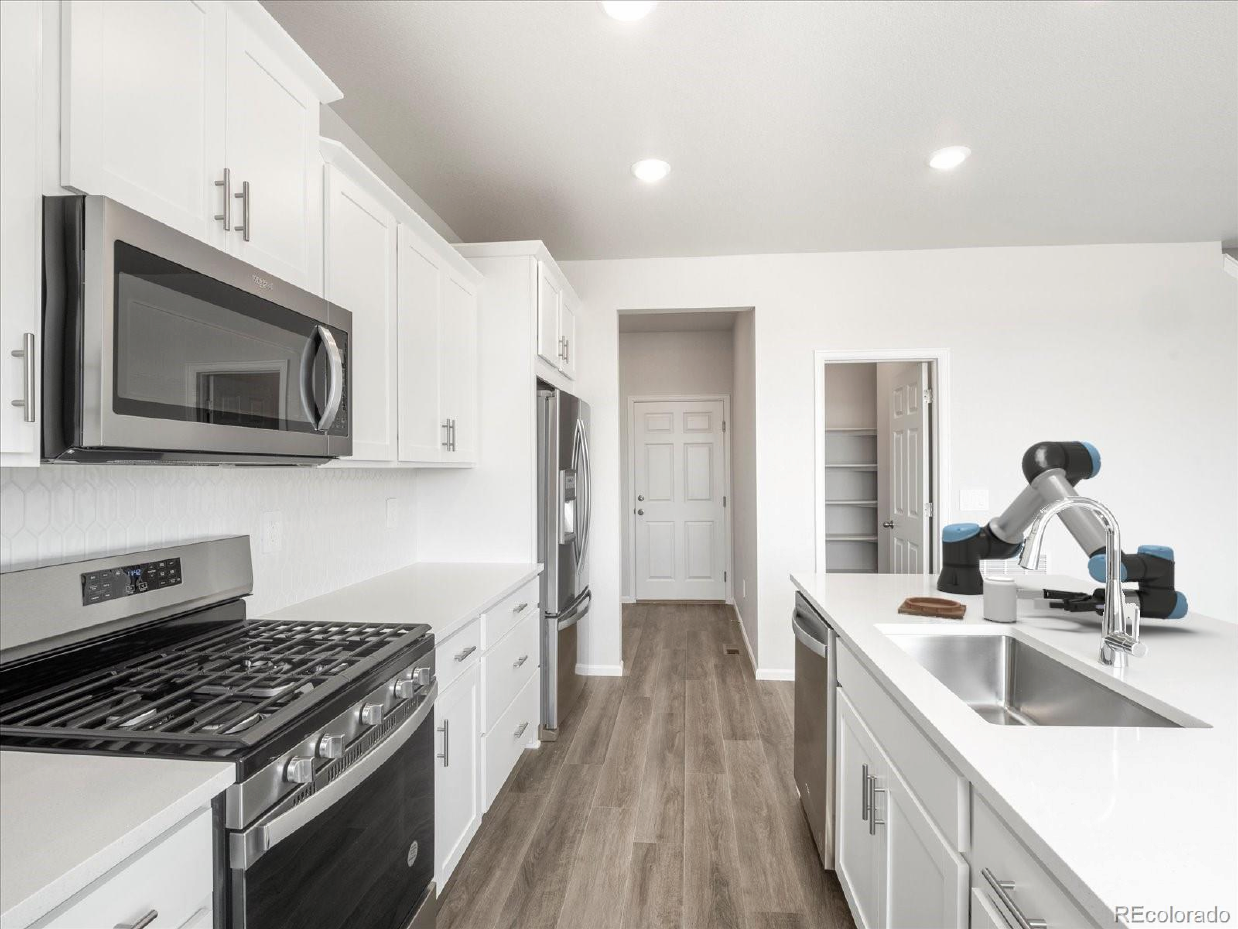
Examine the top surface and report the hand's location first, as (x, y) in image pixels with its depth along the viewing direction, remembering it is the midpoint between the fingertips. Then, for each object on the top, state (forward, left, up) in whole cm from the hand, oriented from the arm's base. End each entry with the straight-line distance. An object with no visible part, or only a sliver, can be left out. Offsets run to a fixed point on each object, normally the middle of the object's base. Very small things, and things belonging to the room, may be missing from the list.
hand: (1025, 598), depth 180 cm
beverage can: (+6, -2, -7) cm, 9 cm away
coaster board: (+20, -13, -6) cm, 25 cm away
